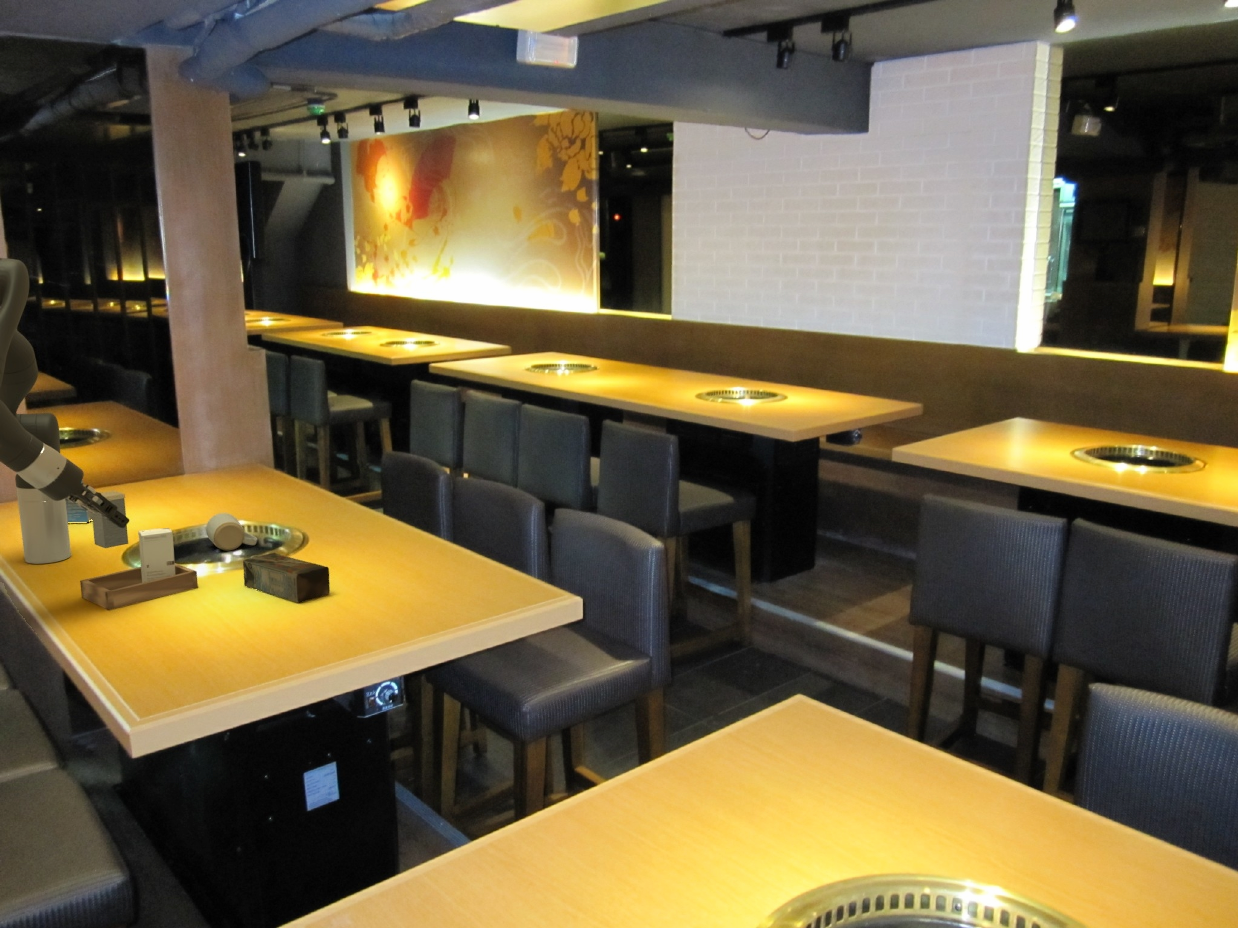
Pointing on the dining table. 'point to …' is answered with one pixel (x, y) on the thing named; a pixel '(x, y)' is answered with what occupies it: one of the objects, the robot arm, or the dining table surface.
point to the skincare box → (156, 554)
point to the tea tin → (110, 523)
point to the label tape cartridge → (77, 512)
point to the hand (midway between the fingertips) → (119, 521)
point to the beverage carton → (286, 577)
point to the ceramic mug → (227, 532)
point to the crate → (135, 587)
